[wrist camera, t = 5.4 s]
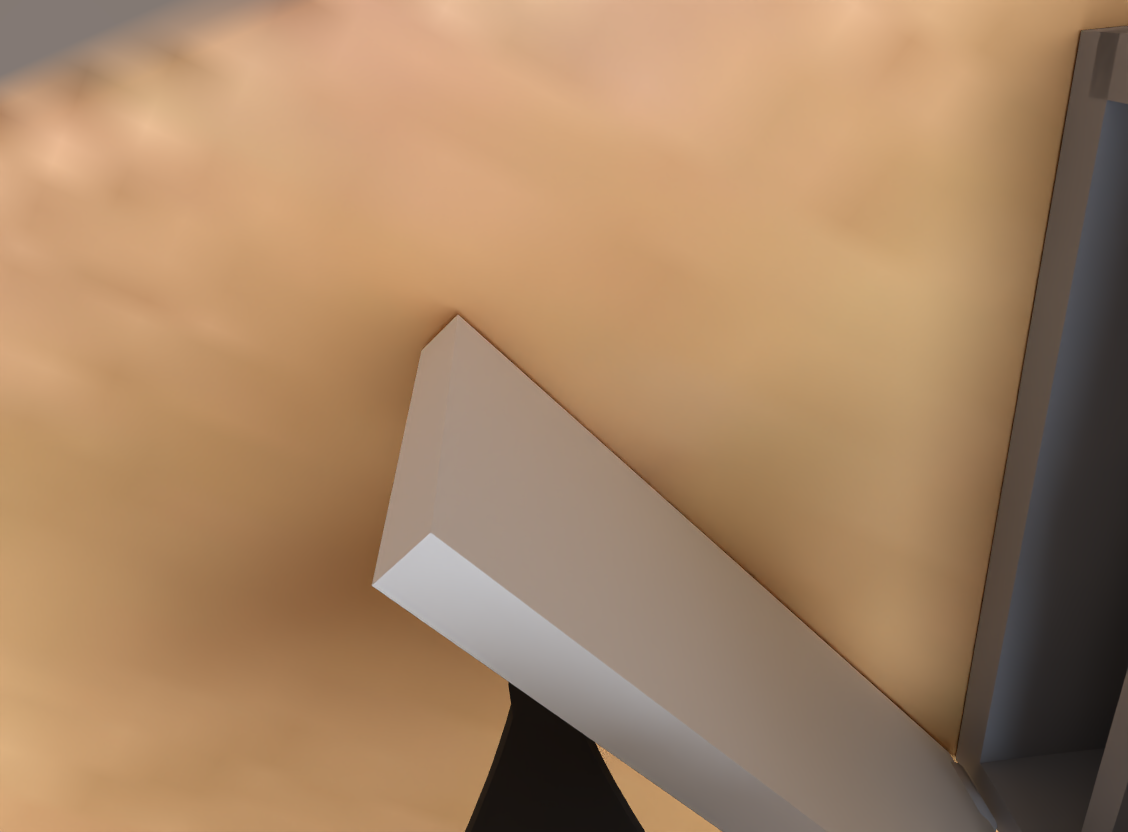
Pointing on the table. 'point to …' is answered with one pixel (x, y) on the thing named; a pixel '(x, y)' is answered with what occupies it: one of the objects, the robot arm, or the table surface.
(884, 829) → the door
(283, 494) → the table surface
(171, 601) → the table surface
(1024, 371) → the cabinet
